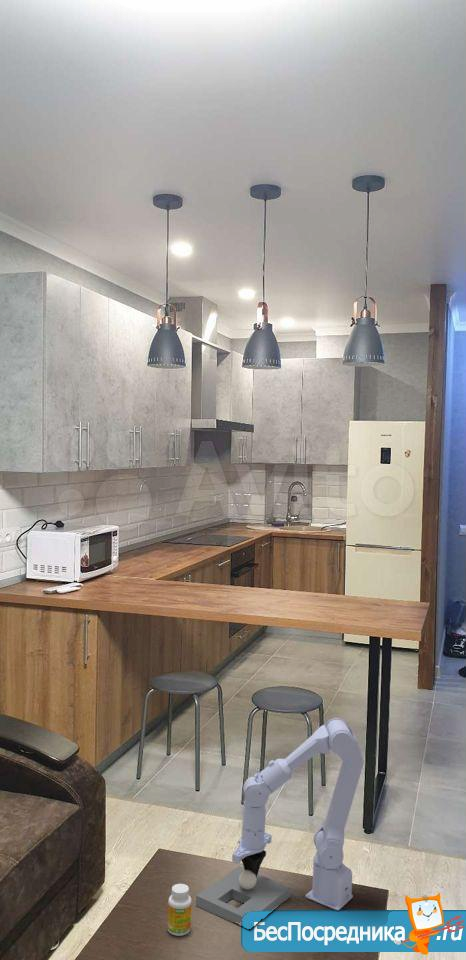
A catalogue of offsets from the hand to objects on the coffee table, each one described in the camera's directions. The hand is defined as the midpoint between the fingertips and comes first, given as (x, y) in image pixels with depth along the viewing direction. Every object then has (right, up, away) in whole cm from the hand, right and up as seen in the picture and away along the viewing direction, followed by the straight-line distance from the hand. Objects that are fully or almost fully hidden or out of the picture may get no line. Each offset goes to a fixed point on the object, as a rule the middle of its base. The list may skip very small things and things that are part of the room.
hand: (250, 880), depth 195 cm
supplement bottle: (-17, -4, -15) cm, 23 cm away
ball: (-1, +1, -2) cm, 2 cm away
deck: (-2, -4, -3) cm, 5 cm away
